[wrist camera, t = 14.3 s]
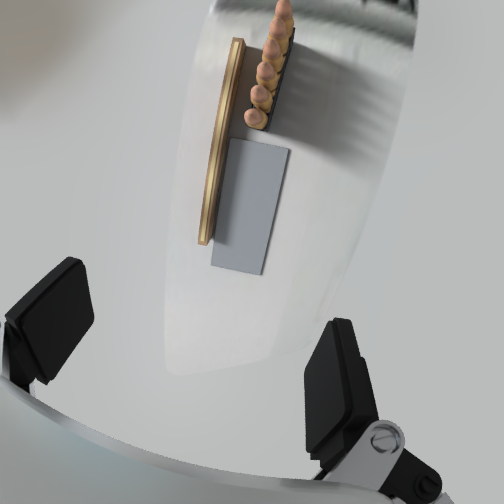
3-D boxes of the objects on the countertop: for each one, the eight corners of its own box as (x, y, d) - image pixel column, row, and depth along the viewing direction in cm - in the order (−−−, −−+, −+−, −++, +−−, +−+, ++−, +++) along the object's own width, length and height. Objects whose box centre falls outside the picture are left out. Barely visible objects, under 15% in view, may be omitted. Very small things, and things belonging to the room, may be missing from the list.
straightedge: (236, 44, 22) (232, 37, 20) (246, 45, 22) (243, 38, 20) (203, 235, 32) (197, 244, 30) (211, 237, 32) (206, 246, 30)
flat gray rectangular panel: (231, 137, 27) (230, 137, 27) (288, 148, 27) (288, 148, 27) (211, 264, 33) (210, 265, 33) (260, 274, 33) (259, 275, 33)
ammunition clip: (267, 132, 27) (260, 133, 16) (250, 127, 26) (231, 126, 16) (293, 41, 22) (301, -9, 11) (275, 37, 22) (273, -15, 11)
